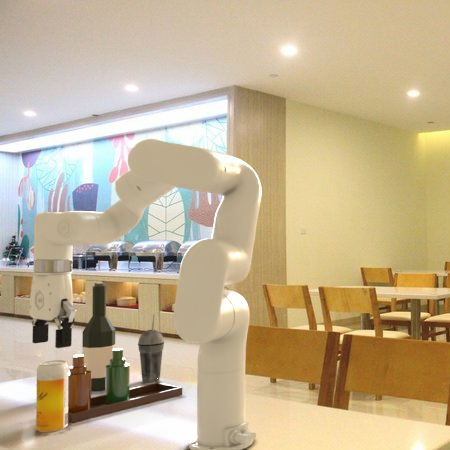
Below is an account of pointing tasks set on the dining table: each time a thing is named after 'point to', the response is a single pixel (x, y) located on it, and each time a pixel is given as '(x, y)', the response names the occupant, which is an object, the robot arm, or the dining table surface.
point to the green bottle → (117, 378)
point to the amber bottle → (79, 386)
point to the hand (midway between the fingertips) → (51, 344)
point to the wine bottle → (98, 339)
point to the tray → (127, 401)
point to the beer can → (52, 396)
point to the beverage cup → (151, 354)
